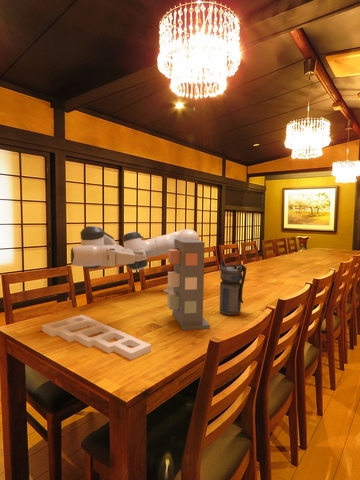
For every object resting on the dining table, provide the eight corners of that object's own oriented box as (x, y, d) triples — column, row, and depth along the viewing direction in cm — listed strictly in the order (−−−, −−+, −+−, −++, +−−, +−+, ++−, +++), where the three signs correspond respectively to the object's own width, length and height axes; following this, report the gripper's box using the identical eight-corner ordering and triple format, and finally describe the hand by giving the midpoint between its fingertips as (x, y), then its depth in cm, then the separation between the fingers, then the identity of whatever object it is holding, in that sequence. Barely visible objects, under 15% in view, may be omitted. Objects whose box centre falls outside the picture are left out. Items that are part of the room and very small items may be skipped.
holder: (151, 352, 102) (151, 344, 102) (107, 372, 89) (107, 363, 89) (82, 320, 132) (82, 314, 132) (41, 331, 119) (41, 325, 118)
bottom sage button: (169, 309, 128) (169, 297, 127) (167, 306, 133) (167, 293, 133) (183, 309, 129) (183, 296, 129) (180, 305, 135) (180, 293, 134)
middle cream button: (170, 287, 127) (170, 274, 127) (167, 284, 132) (167, 271, 132) (183, 286, 128) (183, 273, 128) (180, 283, 134) (181, 271, 133)
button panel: (182, 330, 121) (184, 242, 118) (172, 313, 143) (173, 238, 140) (209, 328, 124) (211, 242, 121) (195, 311, 145) (197, 238, 142)
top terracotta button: (170, 264, 126) (170, 250, 126) (168, 262, 132) (168, 249, 131) (184, 263, 128) (184, 250, 127) (181, 261, 133) (181, 249, 133)
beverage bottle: (239, 318, 136) (241, 265, 134) (214, 312, 144) (215, 262, 142) (248, 313, 144) (250, 262, 142) (224, 308, 152) (225, 259, 150)
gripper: (111, 259, 134) (142, 259, 137) (110, 267, 114) (146, 266, 117) (111, 245, 133) (142, 245, 136) (110, 251, 113) (147, 250, 116)
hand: (144, 255), depth 126 cm, fingers open, 8 cm apart
